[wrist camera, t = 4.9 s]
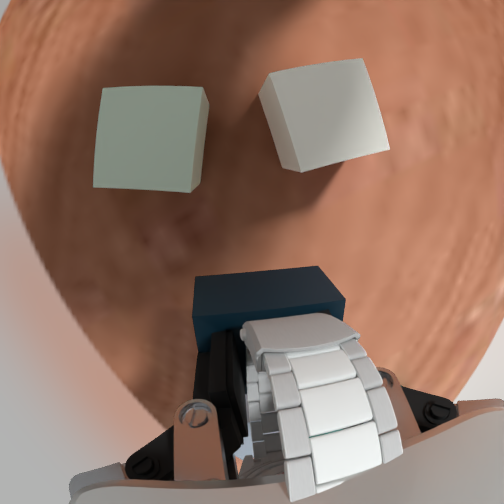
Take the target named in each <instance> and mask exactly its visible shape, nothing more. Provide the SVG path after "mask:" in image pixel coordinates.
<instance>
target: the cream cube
mask: <svg viewBox="0 0 504 504" xmlns="http://www.w3.org/2000/svg"><path fill="white" fill-rule="evenodd" d="M258 95H259V98H260V101H261V104H262V107H263V110H264V113H265V116H266V119H267V122H268V125H269V128H270V131H271V134H272V137H273V140H274V143H275V147H276V150H277V153H278V156H279V159H280V163H281V166H282V168H285V169H289V170H293V171H297V172H301V173H302V172H305V171H309V170H312V169H316V168H319V167H323V166H327V165H330V164H334V163H338V162H341V161H345V160H349V159H353V158H357V157H361V156H365V155H369V154H373V153H377V152H381V151H385V150H390V147H389V143H388V139H387V135H386V131H385V127H384V123H383V120H382V116H381V113H380V109H379V106H378V102H377V99H376V96H375V93H374V90H373V87H372V84H371V81H370V78H369V75H368V72H367V69H366V67H365V64H364V61H363V58H361V59H351V60H342V61H334V62H326V63H320V64H313V65H307V66H302V67H296V68H291V69H286V70H281V71H277V72H272V73H269V75H268V76H267V78H266V80H265V82H264V84H263V86H262V88H261V90H260V91H259V93H258Z"/></svg>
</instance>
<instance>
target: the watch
mask: <svg viewBox="0 0 504 504" xmlns="http://www.w3.org/2000/svg"><path fill="white" fill-rule="evenodd" d="M345 301H346V299H345V298H344V297H343V295H342V294H341V293H340V292H339V290H338V289H337V288H336V287H335V286H334V284H333V283H332V282H331V281H330V280H329V278H328V277H327V276H326V275H325V274H324V272H323V271H322V270H321V269H320V268H319V266H310V267H300V268H289V269H279V270H268V271H257V272H245V273H234V274H222V275H210V276H197V277H195V286H194V299H193V312H192V318H193V324H194V330H195V336H196V341H197V347H198V352H199V353H202V352H210V350H211V336H212V333H214V332H220V331H225V330H226V331H228V330H232V332H233V335H234V338H235V341H236V345H237V349H238V354H239V359H240V364H241V369H242V374H243V380H244V386H245V394H247V401H248V409H249V421H250V428H251V438H252V442H254V443H252V444H253V453H254V459H253V456H252V455H245V457H244V459H243V463H242V466H241V469H240V472H239V475H238V476H239V479H247V478H256V477H265V476H272V475H279V474H285V482H286V487H287V491H288V495H289V499H290V502H293V501H297V500H300V499H303V498H306V497H309V496H312V495H315V494H316V493H320V492H322V491H325V490H328V489H330V488H332V487H335V486H337V485H340V484H341V483H343V482H344V481H336V482H332V483H327V484H322V485H317V486H315V484H321V483H325V482H329V481H332V480H336V479H339V478H343V477H346V476H349V475H352V474H356V473H359V472H361V471H364V470H367V469H370V468H373V467H375V466H378V465H380V464H381V463H382V461H383V463H384V464H385V463H387V462H389V461H391V460H393V459H395V458H396V457H398V456H400V455H401V454H403V449H402V443H401V438H400V433H399V431H398V430H392V429H395V428H396V427H397V420H396V417H395V413H394V410H393V407H392V404H391V401H390V399H389V396H388V393H387V391H386V389H385V387H383V386H381V385H382V384H383V380H382V378H381V376H380V374H379V372H378V371H377V369H376V367H375V365H374V364H373V362H372V361H371V359H370V358H369V357H366V356H367V354H366V351H365V350H364V349H363V347H362V346H361V345H360V344H359V343H358V339H359V338H360V334H359V333H358V332H356V331H355V330H354V329H352V328H351V327H350V326H348V325H347V324H345V323H344V322H343V315H344V308H345ZM327 309H329V311H330V313H331V315H332V316H331V315H328V314H324V313H316V312H318V311H323V310H327ZM272 411H275V412H272ZM265 412H269V413H265ZM260 413H262V414H260ZM259 420H261V421H259ZM251 421H257V422H251ZM367 421H368V422H367ZM364 422H367V423H364ZM360 423H364V424H361V425H357V424H360ZM354 425H357V426H354ZM350 426H354V427H350ZM347 427H350V428H347ZM343 428H347V429H343ZM340 429H343V430H340ZM336 430H340V431H336ZM390 430H392V431H390ZM277 431H279V432H277ZM332 431H336V432H332ZM387 431H389V432H387ZM271 432H277V433H271ZM328 432H332V433H328ZM385 432H387V433H385ZM264 433H270V434H264ZM324 433H328V434H324ZM382 433H384V434H382ZM320 434H324V435H320ZM379 434H381V435H379ZM315 435H320V436H316V437H311V436H315ZM309 437H311V438H309ZM263 440H264V441H263ZM257 441H261V442H257Z"/></svg>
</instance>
